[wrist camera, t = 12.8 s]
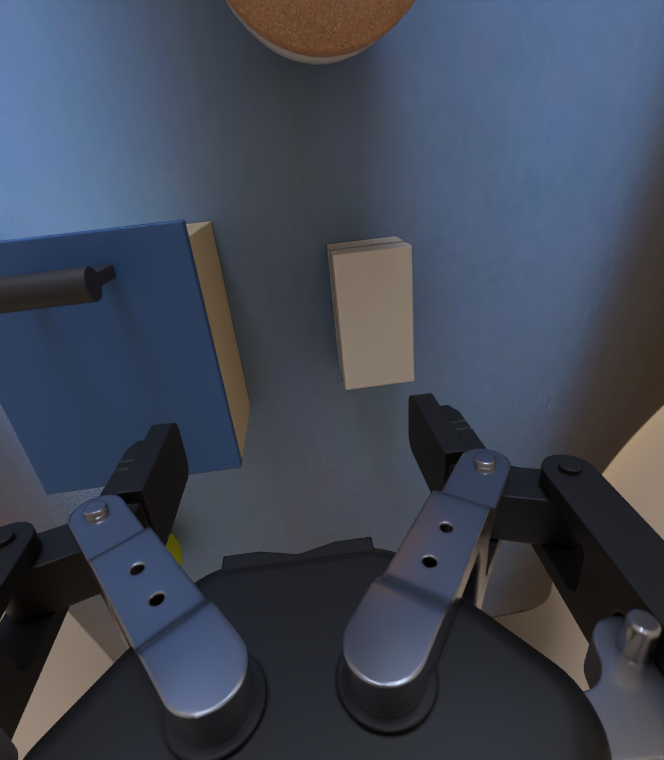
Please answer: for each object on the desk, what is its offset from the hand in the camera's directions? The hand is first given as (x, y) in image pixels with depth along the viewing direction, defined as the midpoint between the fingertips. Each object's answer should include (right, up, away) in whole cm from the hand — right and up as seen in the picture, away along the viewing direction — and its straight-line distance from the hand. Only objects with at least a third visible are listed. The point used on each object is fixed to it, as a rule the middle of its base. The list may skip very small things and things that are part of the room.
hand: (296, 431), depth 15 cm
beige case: (+4, +7, +18) cm, 20 cm away
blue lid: (-12, +2, +11) cm, 16 cm away
